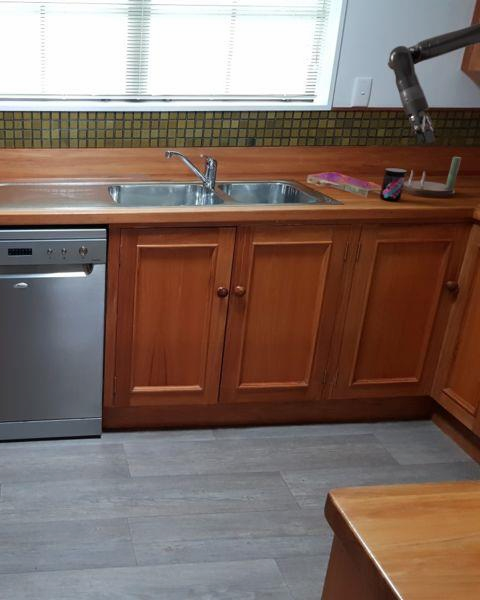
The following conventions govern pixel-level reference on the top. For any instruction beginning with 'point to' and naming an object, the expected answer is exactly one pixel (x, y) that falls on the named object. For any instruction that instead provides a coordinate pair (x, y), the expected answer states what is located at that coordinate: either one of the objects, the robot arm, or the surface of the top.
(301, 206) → the top surface
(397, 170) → the supplement container
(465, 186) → the top surface
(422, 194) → the turntable base
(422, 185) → the dish rack
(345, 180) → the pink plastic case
